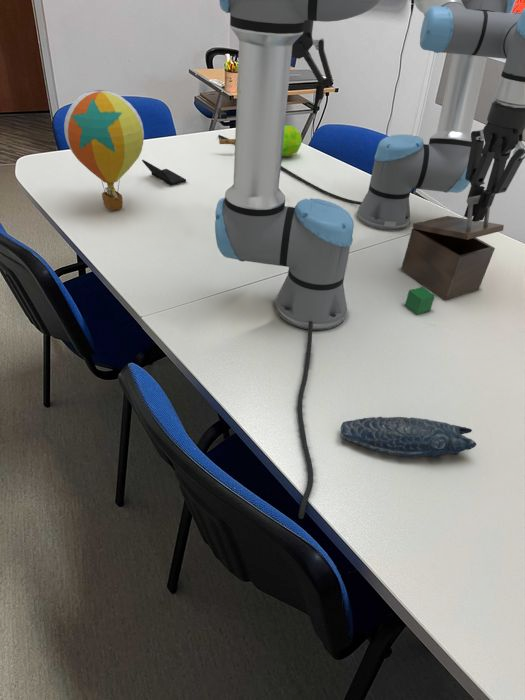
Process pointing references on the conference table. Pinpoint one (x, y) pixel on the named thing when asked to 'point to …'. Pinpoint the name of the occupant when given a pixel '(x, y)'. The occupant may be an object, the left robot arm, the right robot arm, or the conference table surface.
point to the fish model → (407, 436)
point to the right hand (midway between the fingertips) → (473, 217)
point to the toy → (105, 138)
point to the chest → (446, 262)
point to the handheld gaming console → (165, 175)
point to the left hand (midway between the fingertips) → (288, 109)
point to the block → (419, 300)
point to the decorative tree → (290, 141)
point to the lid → (460, 224)
